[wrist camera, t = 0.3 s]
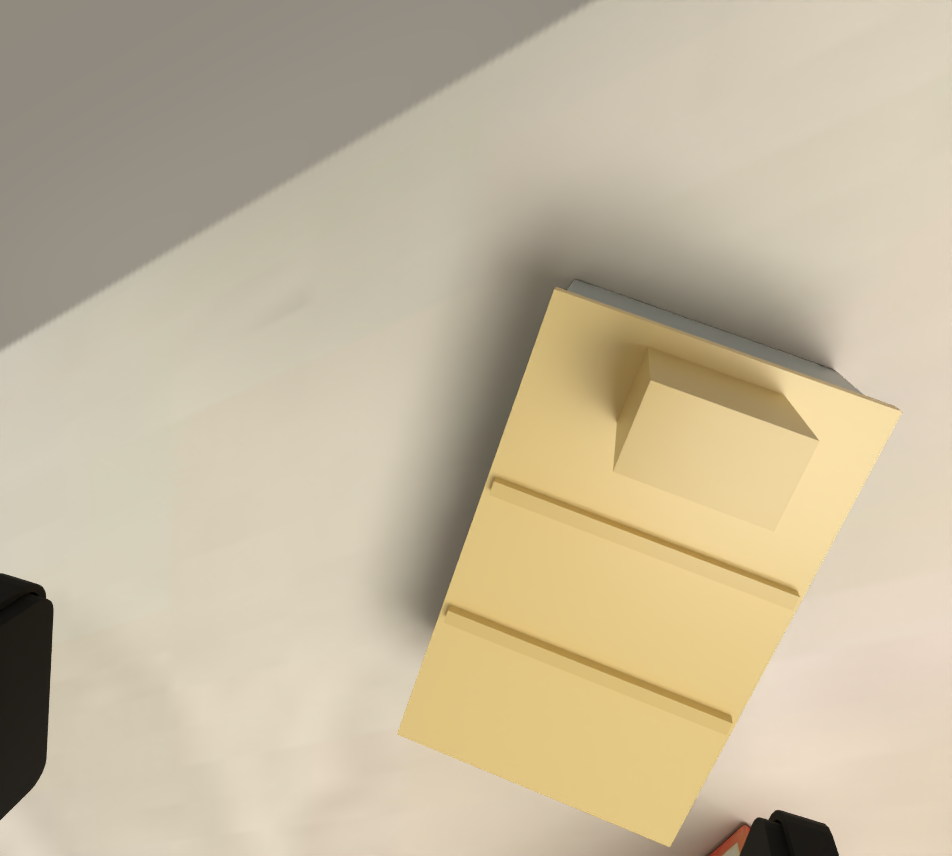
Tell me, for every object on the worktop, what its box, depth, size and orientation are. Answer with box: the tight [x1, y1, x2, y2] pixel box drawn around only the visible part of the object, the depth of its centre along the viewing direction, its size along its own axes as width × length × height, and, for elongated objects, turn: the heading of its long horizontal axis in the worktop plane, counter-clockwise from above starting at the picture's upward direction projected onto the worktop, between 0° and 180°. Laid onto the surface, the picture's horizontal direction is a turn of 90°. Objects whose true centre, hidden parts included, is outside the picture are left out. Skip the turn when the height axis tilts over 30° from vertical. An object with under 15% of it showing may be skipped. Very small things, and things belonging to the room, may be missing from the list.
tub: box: [567, 279, 863, 395], centre depth 34 cm, size 20×12×7 cm, turn 162°
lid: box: [397, 287, 902, 847], centre depth 28 cm, size 21×13×6 cm, turn 162°
